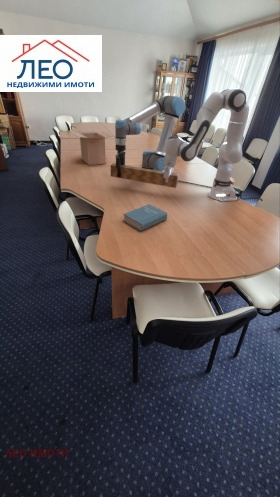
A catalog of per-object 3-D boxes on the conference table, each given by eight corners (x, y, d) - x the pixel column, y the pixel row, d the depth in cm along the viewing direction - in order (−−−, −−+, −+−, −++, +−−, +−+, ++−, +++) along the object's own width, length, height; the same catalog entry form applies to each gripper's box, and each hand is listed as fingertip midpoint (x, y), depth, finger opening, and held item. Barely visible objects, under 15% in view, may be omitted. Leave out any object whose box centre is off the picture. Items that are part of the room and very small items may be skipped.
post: (110, 176, 174) (110, 164, 169) (113, 174, 178) (113, 163, 173) (175, 188, 163) (177, 176, 158) (177, 185, 167) (179, 174, 162)
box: (116, 165, 229) (116, 136, 213) (83, 168, 214) (80, 137, 198) (102, 154, 259) (101, 128, 243) (71, 156, 244) (68, 129, 228)
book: (148, 210, 150) (149, 204, 147) (166, 220, 141) (167, 213, 138) (123, 221, 137) (123, 213, 134) (141, 231, 128) (142, 224, 125)
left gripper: (120, 147, 153) (120, 180, 166) (129, 142, 167) (129, 173, 181) (110, 146, 154) (111, 178, 168) (120, 141, 169) (120, 172, 182)
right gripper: (171, 165, 147) (168, 185, 156) (177, 158, 163) (174, 177, 171) (162, 164, 149) (160, 184, 157) (169, 157, 165) (166, 176, 173)
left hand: (120, 176), depth 174 cm, fingers closed on post, 5 cm apart
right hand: (167, 180), depth 164 cm, fingers closed on post, 5 cm apart
